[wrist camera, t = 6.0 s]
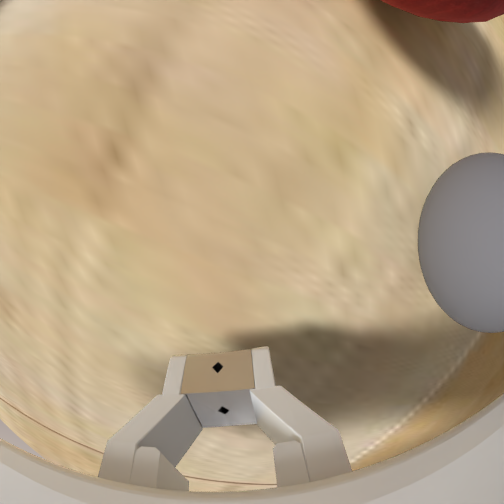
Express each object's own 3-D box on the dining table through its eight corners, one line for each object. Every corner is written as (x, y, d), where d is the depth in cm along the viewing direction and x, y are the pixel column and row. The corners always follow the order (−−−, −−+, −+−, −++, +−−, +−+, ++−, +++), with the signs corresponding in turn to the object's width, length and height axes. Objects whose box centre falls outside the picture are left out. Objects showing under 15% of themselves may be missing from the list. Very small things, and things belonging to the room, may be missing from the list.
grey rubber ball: (603, 273, 1) (417, 377, 5) (578, 279, 3) (476, 343, 8) (475, 83, 4) (361, 203, 8) (516, 159, 6) (435, 230, 10)
